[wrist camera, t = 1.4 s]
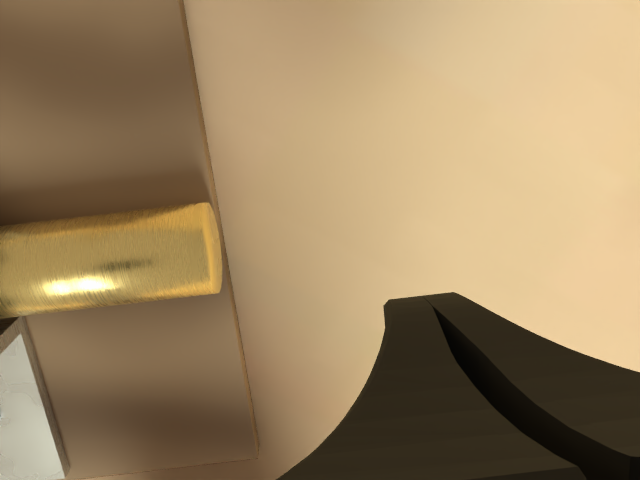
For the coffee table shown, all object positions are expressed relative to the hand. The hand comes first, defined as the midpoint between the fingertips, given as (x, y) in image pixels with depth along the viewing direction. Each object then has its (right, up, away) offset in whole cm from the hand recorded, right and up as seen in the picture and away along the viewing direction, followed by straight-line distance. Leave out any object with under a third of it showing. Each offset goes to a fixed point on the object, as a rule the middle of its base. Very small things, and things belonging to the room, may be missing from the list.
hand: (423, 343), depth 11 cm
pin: (-10, +2, +8) cm, 13 cm away
